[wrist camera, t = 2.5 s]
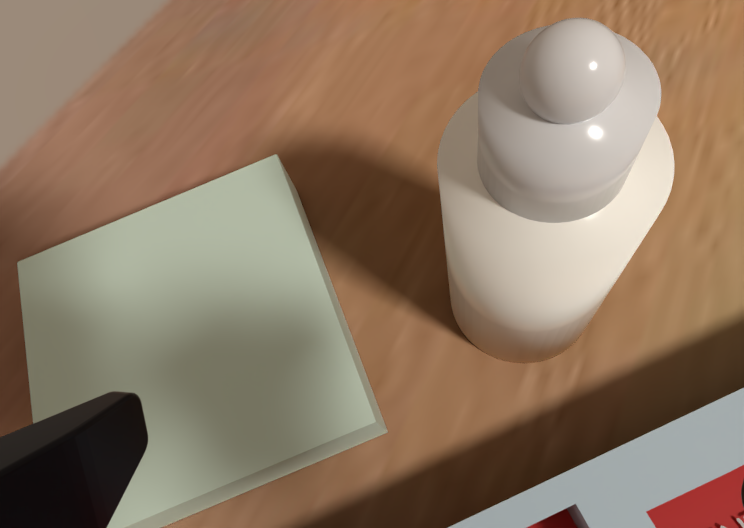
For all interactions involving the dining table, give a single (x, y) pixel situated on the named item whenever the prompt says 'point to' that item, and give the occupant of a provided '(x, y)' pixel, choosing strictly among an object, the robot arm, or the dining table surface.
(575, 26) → the pepper mill
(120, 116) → the dining table surface
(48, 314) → the plinth
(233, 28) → the dining table surface
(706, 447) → the maze game
